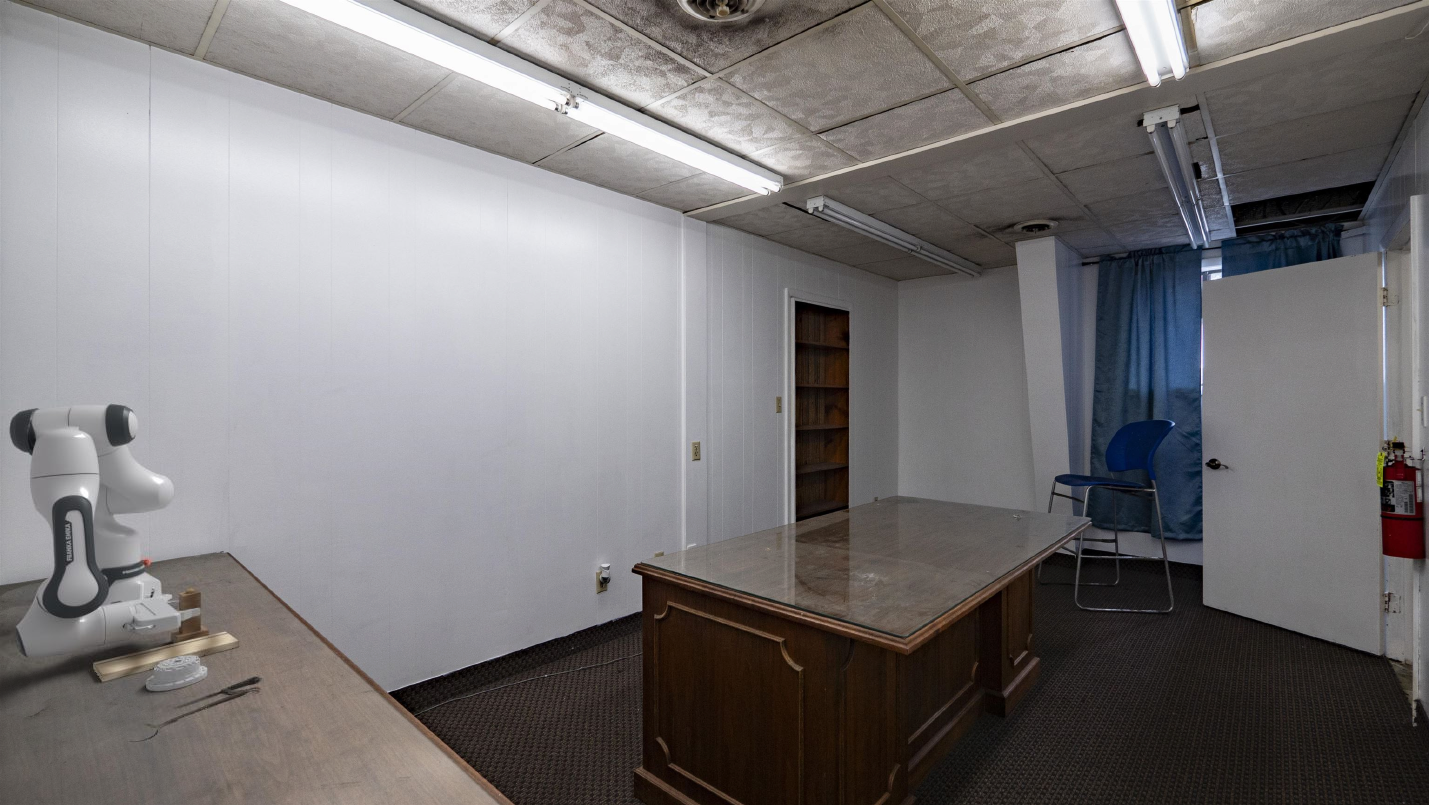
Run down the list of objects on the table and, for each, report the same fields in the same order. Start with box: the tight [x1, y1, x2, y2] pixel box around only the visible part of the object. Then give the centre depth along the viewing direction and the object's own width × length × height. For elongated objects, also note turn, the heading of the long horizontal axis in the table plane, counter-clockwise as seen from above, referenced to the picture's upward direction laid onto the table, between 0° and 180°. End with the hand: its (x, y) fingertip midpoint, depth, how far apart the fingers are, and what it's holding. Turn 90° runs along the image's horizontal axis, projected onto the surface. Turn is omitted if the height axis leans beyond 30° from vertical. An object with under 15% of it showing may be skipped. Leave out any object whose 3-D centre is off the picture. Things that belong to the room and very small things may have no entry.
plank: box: [92, 631, 240, 683], centre depth 146 cm, size 24×10×2 cm, turn 143°
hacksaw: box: [129, 676, 262, 743], centre depth 122 cm, size 24×10×2 cm, turn 151°
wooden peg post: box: [170, 588, 210, 643], centre depth 156 cm, size 6×6×13 cm
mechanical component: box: [145, 655, 208, 692], centre depth 134 cm, size 10×4×10 cm
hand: (194, 606), depth 157 cm, fingers open, 8 cm apart
